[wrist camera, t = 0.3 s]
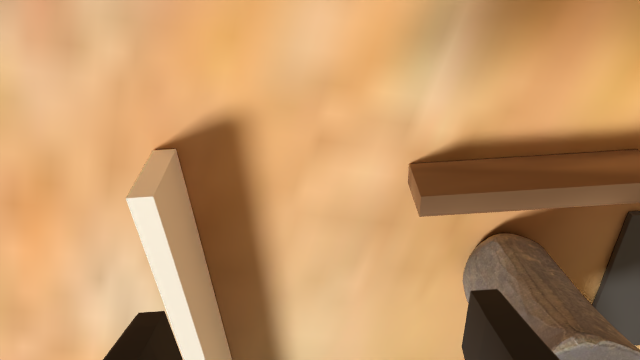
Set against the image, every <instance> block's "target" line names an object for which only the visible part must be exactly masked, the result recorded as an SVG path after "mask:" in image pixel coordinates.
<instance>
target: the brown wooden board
mask: <svg viewBox="0 0 640 360" xmlns="http://www.w3.org/2000/svg"><path fill="white" fill-rule="evenodd" d="M408 184H409V187H410V190H411V193H412V196H413V199H414V202H415V205H416V208H417V211H418V214H419V217H422V216H438V215H455V214H471V213H487V212H503V211H519V210H535V209H551V208H567V207H583V206H599V205H615V204H631V203H640V151H639V150H638V149H634V150H619V151H603V152H587V153H572V154H556V155H540V156H525V157H509V158H493V159H478V160H462V161H446V162H430V163H415V164H409V176H408Z"/></svg>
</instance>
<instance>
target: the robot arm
mask: <svg viewBox="0 0 640 360" xmlns="http://www.w3.org/2000/svg"><path fill="white" fill-rule="evenodd" d="M462 350H463V354H464V358H465V360H560V359H559V358H558V357H557V356H556V355H555V354H554V353H553V352H552V350H551V349H550V348H549V347H548V346H547V345H546V344H545V343H544V342H543V341H542V339H541V338H540V337H539V336H538V335H537V334H536V333H535V332H534V330H533V329H532V328H531V327H530V326H529V325H528V324H527V322H526V321H525V320H524V319H523V318H522V317H521V316H520V314H519V313H518V312H517V311H516V310H515V309H514V307H513V306H512V305H511V304H510V303H509V301H508V300H507V299H506V298H505V297H504V295H503V294H502V293H501V292H500V291H499V290H498V289H489V290H474V291H471V292H470V298H469V304H468V311H467V317H466V323H465V330H464V336H463V342H462ZM103 360H183V359H182V357H181V354H180V351H179V349H178V346H177V343H176V341H175V338H174V335H173V333H172V330H171V327H170V325H169V322H168V319H167V317H166V314H165V311H159V312H144V313H138V314H137V316H136V317H135V318H134V319H133V321H132V322H131V323H130V325H129V326H128V327H127V329H126V330H125V331H124V333H123V334H122V335H121V337H120V338H119V339H118V341H117V342H116V343H115V345H114V346H113V347H112V348H111V350H110V351H109V352H108V354H107V355H106V356H105V358H104V359H103Z"/></svg>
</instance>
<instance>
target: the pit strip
mask: <svg viewBox="0 0 640 360" xmlns="http://www.w3.org/2000/svg"><path fill="white" fill-rule="evenodd" d="M592 306H593V307H594V308H595V309H596V310H597V311H598V312H599V313H600V314H601V315H602V316H603V317H604V318H605V319H606V320H607V321H608V322H609V323H610V324H611V325H612V326H613V327H614V328H615V329H617V330H618V331H619V332H620V333H621V334H622V335H623V336H624V337H625V338H626V339H627V340H629V341H630V342H631V343H632V344H633V345H640V211H633V212H628V215H627V217H626V220H625V222H624V225H623V228H622V230H621V233H620V235H619V238H618V240H617V243H616V246H615V248H614V251H613V253H612V256H611V258H610V261H609V264H608V266H607V269H606V271H605V274H604V276H603V279H602V282H601V284H600V287H599V289H598V292H597V294H596V297H595V300H594V302H593V305H592Z"/></svg>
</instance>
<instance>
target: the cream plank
mask: <svg viewBox="0 0 640 360" xmlns="http://www.w3.org/2000/svg"><path fill="white" fill-rule="evenodd" d="M126 200H127V203H128V206H129V209H130V211H131V214H132V217H133V220H134V222H135V225H136V228H137V231H138V234H139V236H140V239H141V242H142V245H143V247H144V250H145V253H146V256H147V259H148V261H149V264H150V267H151V270H152V273H153V275H154V278H155V281H156V284H157V286H158V289H159V292H160V295H161V298H162V300H163V303H164V306H165V309H166V311H167V314H168V317H169V320H170V323H171V325H172V328H173V331H174V334H175V336H176V339H177V342H178V345H179V348H180V350H181V353H182V356H183V359H184V360H232V357H231V354H230V350H229V346H228V342H227V339H226V335H225V331H224V327H223V324H222V320H221V316H220V312H219V309H218V305H217V301H216V297H215V294H214V290H213V286H212V282H211V279H210V275H209V271H208V267H207V264H206V260H205V256H204V252H203V249H202V245H201V241H200V237H199V233H198V230H197V226H196V222H195V218H194V215H193V211H192V207H191V203H190V200H189V196H188V192H187V188H186V185H185V181H184V177H183V173H182V170H181V166H180V162H179V158H178V155H177V151H176V149H165V150H153V151H152V152H151V154H150V156H149V158H148V159H147V161H146V163H145V165H144V167H143V168H142V170H141V172H140V174H139V176H138V177H137V179H136V181H135V183H134V184H133V186H132V188H131V190H130V192H129V193H128V195H127V197H126Z"/></svg>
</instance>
